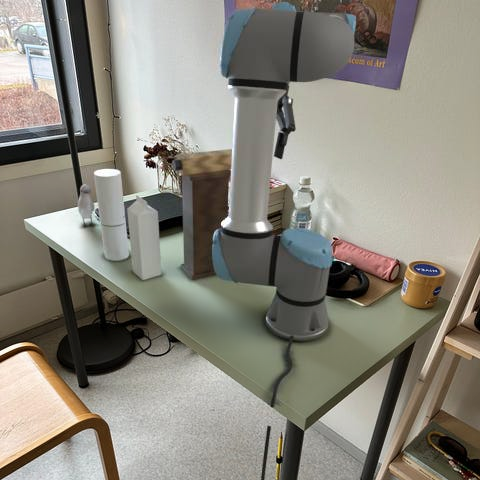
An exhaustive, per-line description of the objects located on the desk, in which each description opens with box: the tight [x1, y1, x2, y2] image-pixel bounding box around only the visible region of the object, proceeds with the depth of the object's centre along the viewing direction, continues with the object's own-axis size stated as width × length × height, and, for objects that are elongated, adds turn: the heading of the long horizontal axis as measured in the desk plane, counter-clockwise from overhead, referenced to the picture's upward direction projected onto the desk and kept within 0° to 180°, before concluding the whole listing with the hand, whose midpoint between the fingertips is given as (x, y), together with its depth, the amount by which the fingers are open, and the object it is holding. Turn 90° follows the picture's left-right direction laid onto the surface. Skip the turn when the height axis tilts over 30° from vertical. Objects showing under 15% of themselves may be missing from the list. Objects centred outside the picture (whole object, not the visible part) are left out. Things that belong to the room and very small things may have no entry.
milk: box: [126, 195, 162, 281], centre depth 128 cm, size 6×6×22 cm
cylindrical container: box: [93, 168, 130, 262], centre depth 136 cm, size 7×7×25 cm
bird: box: [77, 183, 96, 228], centre depth 156 cm, size 5×14×15 cm, turn 29°
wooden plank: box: [171, 148, 232, 176], centre depth 121 cm, size 24×4×4 cm, turn 119°
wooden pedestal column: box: [177, 170, 231, 281], centre depth 129 cm, size 12×8×29 cm, turn 119°
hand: (261, 158), depth 135 cm, fingers open, 13 cm apart
